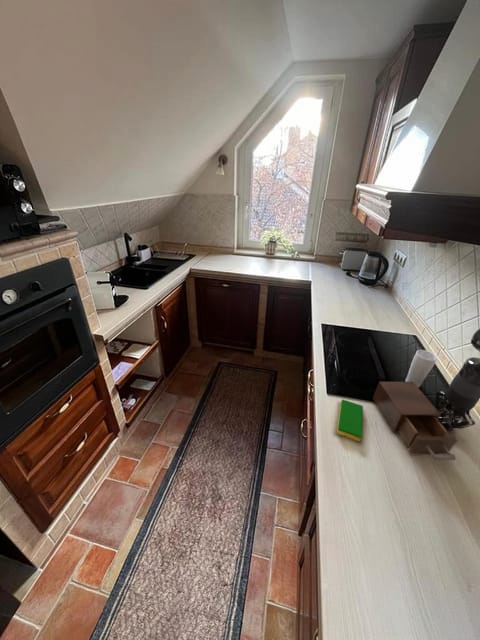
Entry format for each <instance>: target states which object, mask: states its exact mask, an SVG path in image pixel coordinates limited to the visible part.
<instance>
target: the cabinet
mask: <svg viewBox="0 0 480 640" xmlns="http://www.w3.org/2000/svg"><path fill="white" fill-rule="evenodd" d="M372 400H373V402H374V403H375V405H376V406H377V409H378V410H379V411H380V413H381V415H382V416H383V418H384V420H385V422H386V423H387V424H388V426H389V428H390V430H391V431H392V433H400V432H399V430H398V429H397V428H398V426H399V424H400V422H401V420H402V418H403V416H435V417H436V418H437V419H439V417H440V415H441V414H440V413H439V412H438V409H437V408H436V407H435V405H434V404H433V403H431V401H430V400H429V399H428V398H427V397H426V395H425V394H424V393H423V391H421V389H420V387H419V388H418V387H417V386H416V385H415V384H414V383H413V382H405V381H378V384H377V386H376V388H375V392H374V394H373V396H372Z"/></svg>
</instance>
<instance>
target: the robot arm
mask: <svg viewBox="0 0 480 640" xmlns="http://www.w3.org/2000/svg"><path fill="white" fill-rule="evenodd" d="M470 344H471V346H472V347H473V348H474V349H475V350H476V351H477V352H478V353H480V328H478V329H477V330H476V331H475V332H474V333H473V335H472V336H471V339H470ZM479 401H480V357H469V358H467V359H466V360H465V361H464V363H463V364H462V366H461V367H460V369H459V371H458V373H457V374H456V375H455V376H454V377H453V379H452V381H451V382H450V383H449V386H448V388H447V389H446V390H443V391H442V390H441V391H438V390H437V391H436V394H435V401H434V402H435V403H434V407H435V408H436V409H437V411H438V412H439V413H440V414H441V415H440V417H449V420H448V423H446V425H445V426H444V428H445V429H446V430H447V432H448V433H451V432H453V430H454V429H455V430H456V429H457V430H462V429H465V428H469V427H472V426H475V425H476V422H475V421H474V420H471V418H470V416H469V415H470V413H471V412H470V411H471V410H472V409H474V408H475V407H476V405H477V404H478V402H479ZM447 414H448V416H447Z"/></svg>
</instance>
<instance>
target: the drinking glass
mask: <svg viewBox="0 0 480 640" xmlns="http://www.w3.org/2000/svg"><path fill="white" fill-rule="evenodd" d="M437 360H438V358H437V355H435V353H433V352H431V351H428V350H426V349H418V350H416V352H415V353H414V355H413V358H412V361H411V363H410V367H409V370H408V372H407V376H406V377H405V381H404V382H413V383H414V384H415V385H416V386H417V387H418V388H419V389H420V387H421V386H422V384H423V382H424V381H425V379H426V378H427V376H428V375H429V373H430V372H431V370H432V369H434V366H435V364H436V362H437Z"/></svg>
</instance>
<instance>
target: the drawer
mask: <svg viewBox="0 0 480 640" xmlns="http://www.w3.org/2000/svg"><path fill="white" fill-rule="evenodd" d="M397 429H398V430H399V432H398V433H399V434H400V435H401V436H402V438H403V440H404V441H405V443H406V444H407V446H408V447H409V448H408V452H409V455H430V458H431V459H432V460H433V461H455V460H456V459H457V457H456V455H455V454H453V453H451V450H452V449H453V447H454V446H455V445H456V443H457V442H458V439H457V437H455V436H448V435H449V432H447V430H446V429H445V428H444V427H443V426H442V424H441V423H440V422H439V421H438V419H437V418H436V417H435V416H403V418H402V420H401V422H400V424H399V426H398V428H397Z"/></svg>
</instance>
